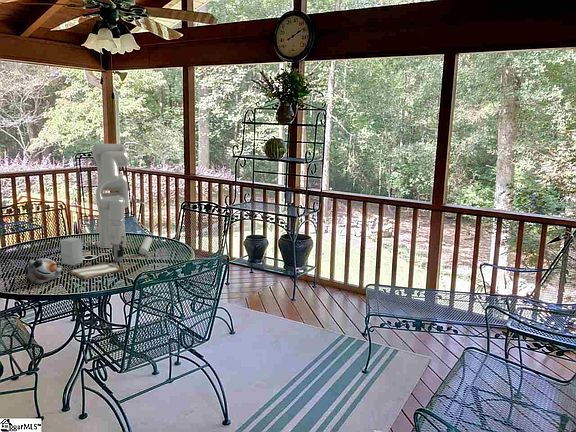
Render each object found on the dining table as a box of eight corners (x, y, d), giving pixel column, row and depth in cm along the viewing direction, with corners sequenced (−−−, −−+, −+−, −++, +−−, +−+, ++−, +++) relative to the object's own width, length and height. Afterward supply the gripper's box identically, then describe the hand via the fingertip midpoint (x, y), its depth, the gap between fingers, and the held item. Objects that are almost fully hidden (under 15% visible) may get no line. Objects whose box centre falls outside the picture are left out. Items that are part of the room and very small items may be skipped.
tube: (149, 249, 269) (153, 238, 294) (139, 246, 268) (145, 235, 292) (146, 257, 270) (151, 246, 294) (136, 255, 269) (142, 243, 293)
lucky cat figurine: (62, 274, 233) (67, 252, 226) (55, 291, 223) (60, 269, 216) (28, 267, 228) (32, 245, 221) (20, 284, 218) (24, 261, 211)
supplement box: (83, 262, 254) (82, 238, 251) (72, 265, 247) (71, 241, 244) (71, 260, 256) (70, 237, 254) (61, 263, 249) (59, 240, 247)
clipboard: (68, 272, 236) (68, 269, 236) (106, 264, 251) (106, 261, 251) (85, 280, 226) (85, 276, 226) (123, 271, 241) (123, 267, 241)
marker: (112, 260, 258) (111, 238, 256) (119, 259, 261) (118, 236, 259) (116, 262, 256) (116, 239, 253) (123, 260, 259) (123, 238, 256)
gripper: (101, 220, 257) (103, 254, 260) (119, 225, 246) (120, 260, 250) (114, 218, 263) (115, 251, 266) (132, 223, 252) (133, 257, 256)
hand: (118, 255), depth 258 cm, fingers closed on marker, 4 cm apart
